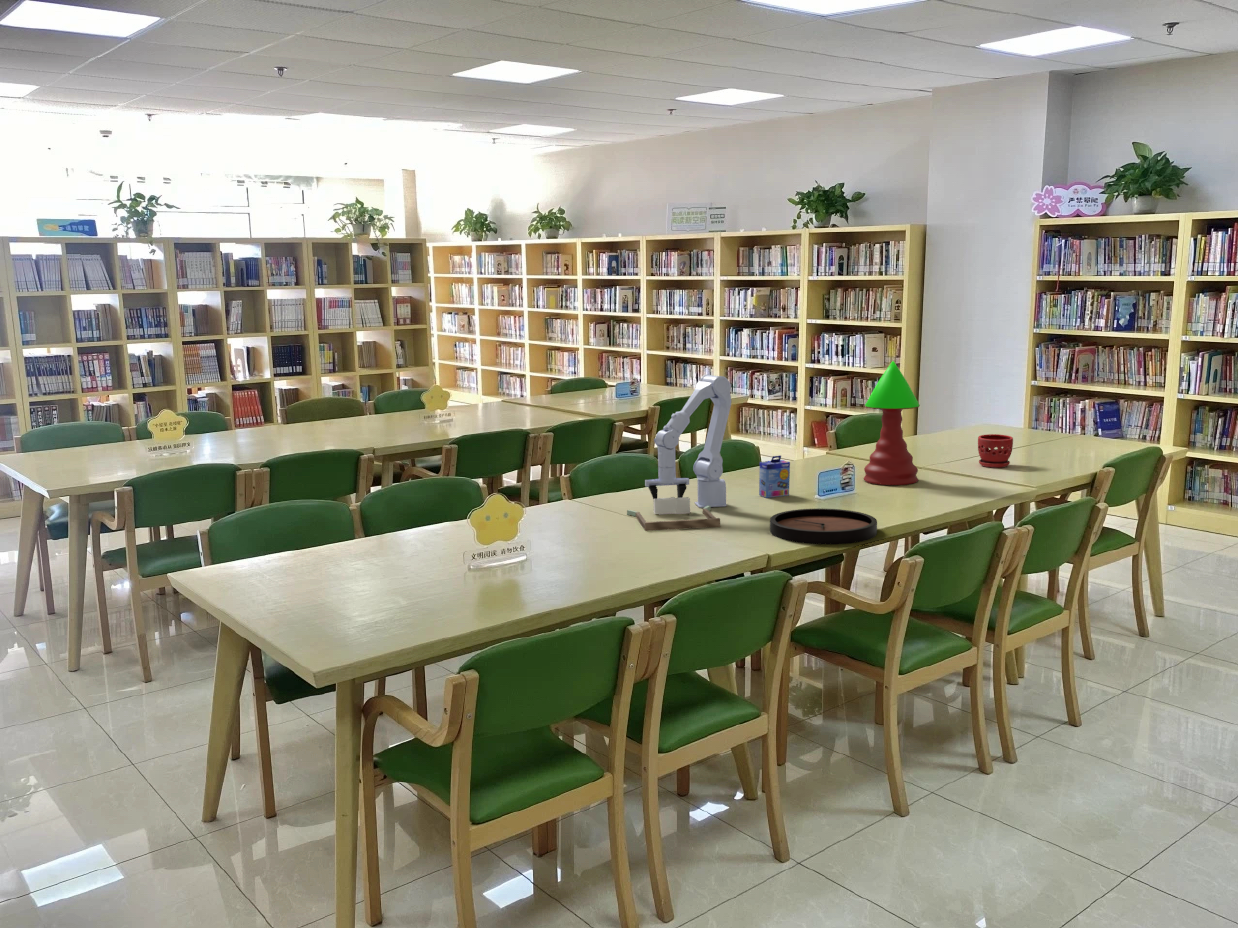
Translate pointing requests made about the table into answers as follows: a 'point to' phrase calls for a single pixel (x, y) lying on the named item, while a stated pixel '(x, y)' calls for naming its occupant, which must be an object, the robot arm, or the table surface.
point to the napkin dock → (678, 522)
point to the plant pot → (995, 450)
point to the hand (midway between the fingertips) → (667, 506)
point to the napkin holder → (672, 505)
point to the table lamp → (891, 431)
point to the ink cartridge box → (774, 478)
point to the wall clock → (823, 526)
